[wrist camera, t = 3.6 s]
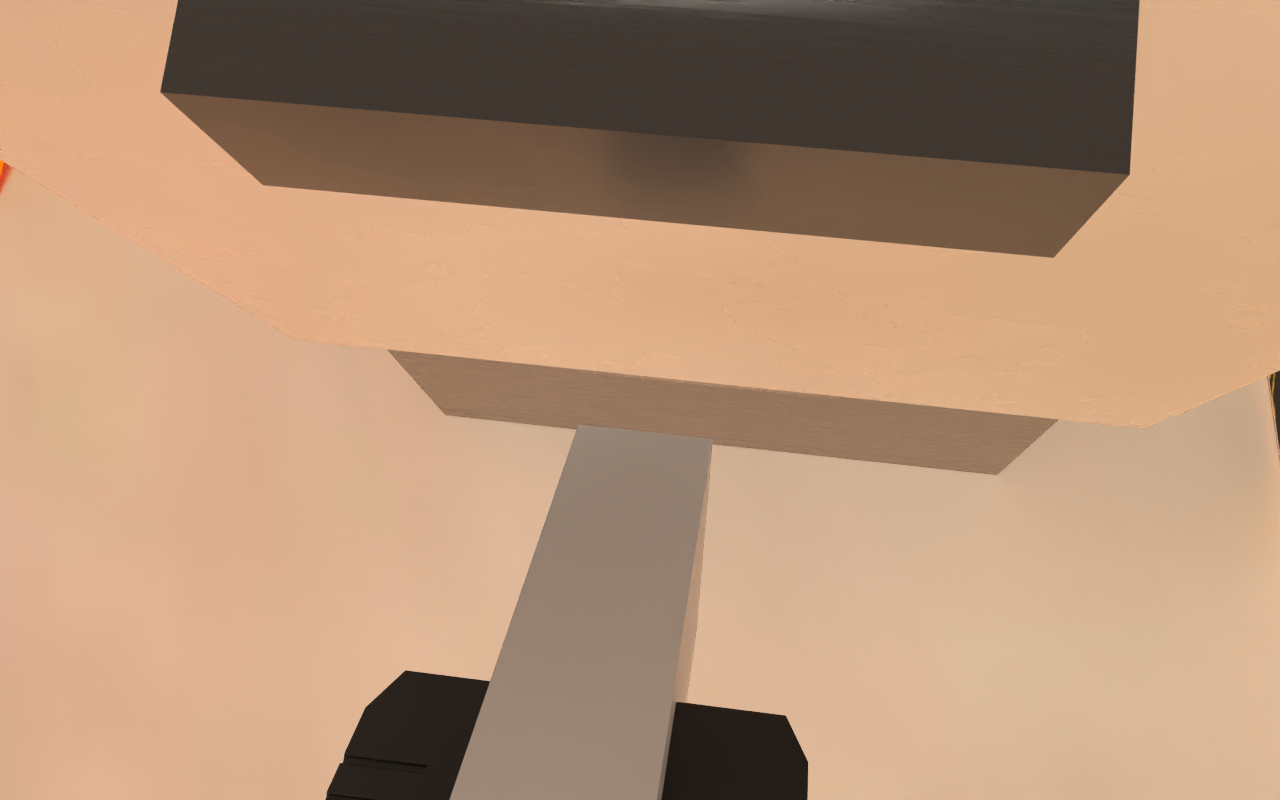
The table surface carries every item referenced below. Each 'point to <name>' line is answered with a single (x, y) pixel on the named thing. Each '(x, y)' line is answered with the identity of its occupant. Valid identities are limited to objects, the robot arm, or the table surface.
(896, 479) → the table surface
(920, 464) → the grey storage box
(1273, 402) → the medicine bottle
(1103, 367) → the gray box lid
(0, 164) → the orange juice
